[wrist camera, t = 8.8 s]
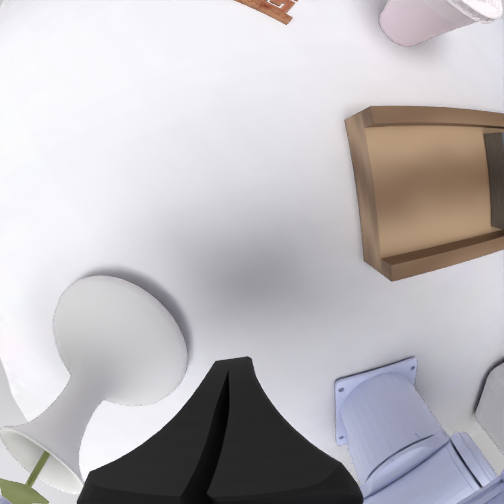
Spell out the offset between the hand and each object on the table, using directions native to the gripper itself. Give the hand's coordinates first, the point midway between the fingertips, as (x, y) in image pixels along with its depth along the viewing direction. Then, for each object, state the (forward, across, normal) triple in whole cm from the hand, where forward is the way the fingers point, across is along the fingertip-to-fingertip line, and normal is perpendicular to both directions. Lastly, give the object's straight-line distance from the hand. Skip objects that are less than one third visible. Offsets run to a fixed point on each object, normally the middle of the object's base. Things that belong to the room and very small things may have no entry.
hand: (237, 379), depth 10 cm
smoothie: (+11, -16, -18) cm, 26 cm away
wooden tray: (+10, -19, -5) cm, 22 cm away
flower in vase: (+11, +11, +3) cm, 16 cm away
